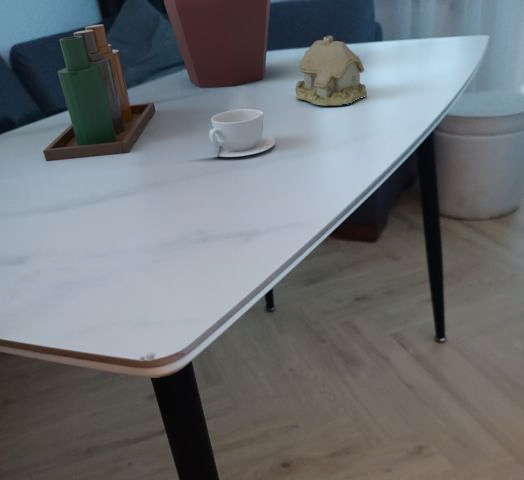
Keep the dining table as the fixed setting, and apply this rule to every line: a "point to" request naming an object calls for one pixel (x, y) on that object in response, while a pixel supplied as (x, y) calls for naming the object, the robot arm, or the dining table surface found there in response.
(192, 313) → the dining table surface
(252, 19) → the bucket
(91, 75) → the green bottle
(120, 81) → the amber bottle
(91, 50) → the gray bottle
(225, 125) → the teacup
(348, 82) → the ceramic model
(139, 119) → the tray
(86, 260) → the dining table surface
